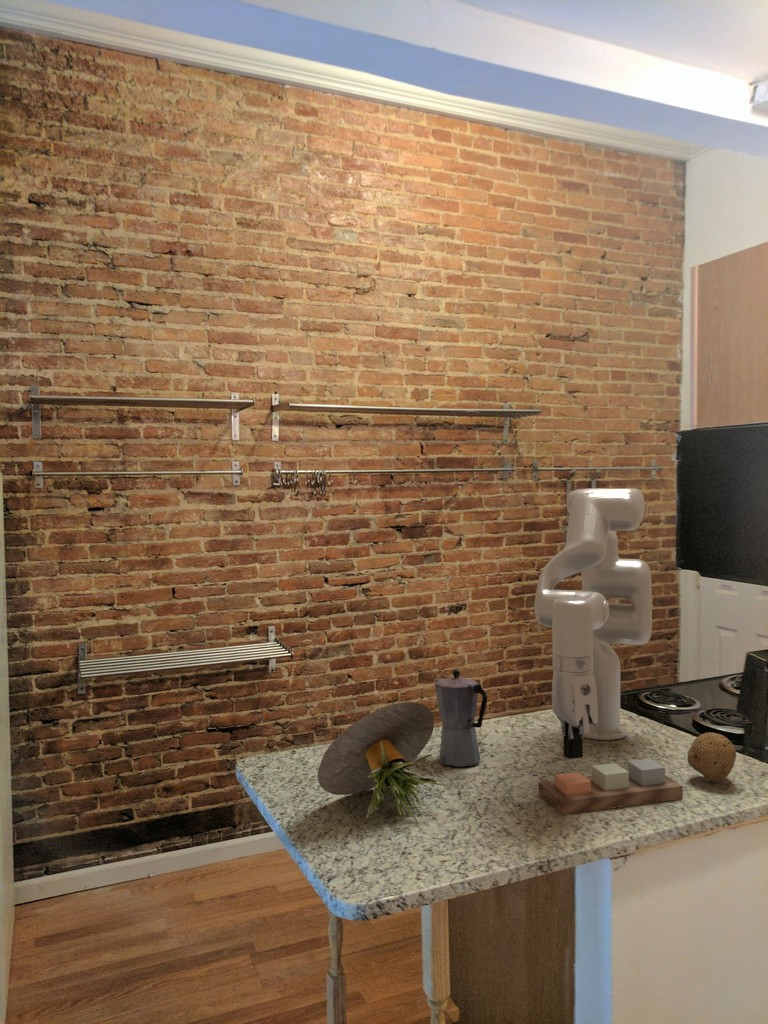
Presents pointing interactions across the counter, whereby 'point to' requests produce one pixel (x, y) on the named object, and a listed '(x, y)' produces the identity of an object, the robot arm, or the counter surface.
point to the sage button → (610, 777)
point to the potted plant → (380, 755)
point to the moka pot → (459, 719)
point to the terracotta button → (572, 784)
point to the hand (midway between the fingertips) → (573, 756)
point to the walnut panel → (609, 796)
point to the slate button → (646, 772)
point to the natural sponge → (712, 756)
